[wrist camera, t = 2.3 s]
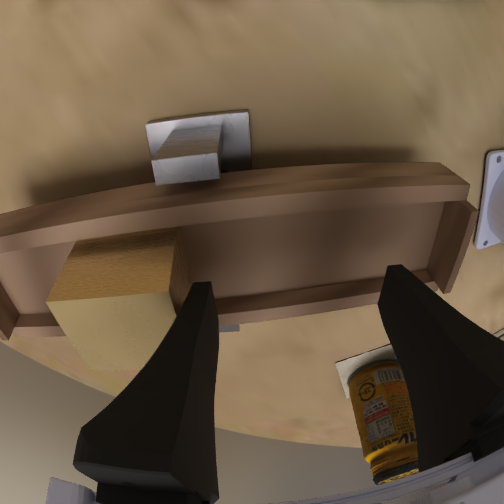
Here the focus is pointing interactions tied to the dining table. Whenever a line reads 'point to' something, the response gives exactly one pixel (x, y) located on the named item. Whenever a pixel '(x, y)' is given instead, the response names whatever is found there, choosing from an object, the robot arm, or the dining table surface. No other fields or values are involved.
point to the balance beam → (256, 237)
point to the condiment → (382, 413)
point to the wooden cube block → (121, 296)
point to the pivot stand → (200, 149)
